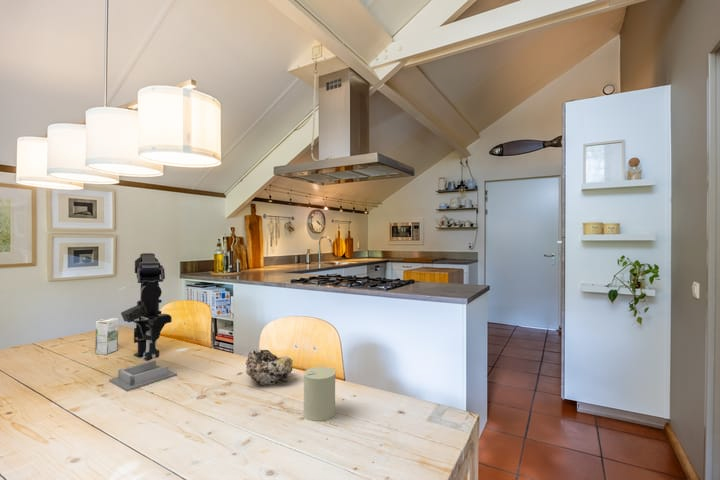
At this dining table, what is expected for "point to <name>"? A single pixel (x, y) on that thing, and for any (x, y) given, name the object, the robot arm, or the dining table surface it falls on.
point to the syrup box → (106, 336)
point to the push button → (150, 348)
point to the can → (319, 393)
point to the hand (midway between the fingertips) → (149, 340)
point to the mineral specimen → (268, 367)
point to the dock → (141, 375)
